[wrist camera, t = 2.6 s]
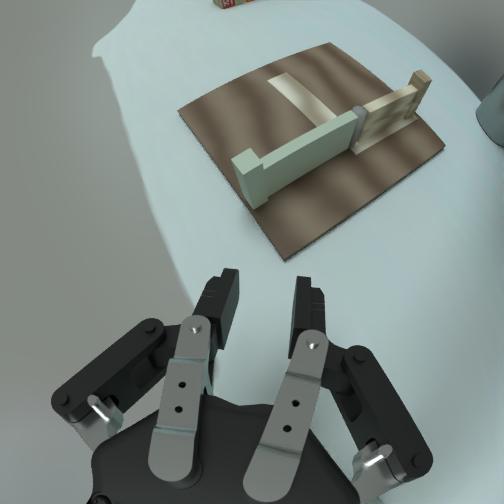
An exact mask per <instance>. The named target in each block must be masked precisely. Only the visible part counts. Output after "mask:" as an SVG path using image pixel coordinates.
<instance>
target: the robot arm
mask: <svg viewBox="0 0 504 504" xmlns="http://www.w3.org/2000/svg"><path fill="white" fill-rule="evenodd" d="M476 114H477V118H478V121H479V123H480V125H481V126H482V128H483V129H484V131H485V132H486V133H487V135H488V136H489V137H490V138H491V139H492V140H493V141H494V142H496V143H497V144H499V145H500V146H503V147H504V73H503V74H502V76H501V77H500V78H499V80H498V81H497V83H496V84H495V85H494V87H493V88H492V90H491V91H490V93H489V94H488V95H487V96H486V98H485V99H484V100H483V102H482V103H481V104H480V106H479V107H478V108H477V110H476ZM238 300H239V270H238V269H229V268H224V270H223V272H222V275H221V277H215V276H214V277H212V278H211V279H210V280H209V281H208V282H207V283H206V286H205V288H204V290H203V292H202V295H201V297H200V299H199V301H198V303H197V305H196V308H195V310H194V312H193V314H192V316H190V317H187V318H186V319H185V320H184V321H183V322H182V324H179V325H172V326H164V325H163V323H162V322H161V321H160V320H158V319H155V318H149V319H145V320H143V321H142V322H140V323H139V324H138V325H137V326H135V327H134V328H133V329H131V330H130V331H129V332H128V333H126V334H125V335H124V336H123V337H121V338H120V339H119V340H118V341H116V342H115V343H114V344H113V345H111V346H110V347H109V348H108V349H106V350H105V351H104V352H103V353H101V354H100V355H99V356H98V357H97V358H95V359H94V360H93V361H92V362H90V363H89V364H88V365H86V366H85V367H84V368H83V369H82V370H80V371H79V372H78V373H77V374H75V375H74V376H73V377H72V378H71V379H69V380H68V381H67V382H66V383H64V384H63V385H62V386H61V387H60V388H58V389H57V390H56V391H55V392H54V393H53V395H52V398H51V405H52V408H53V409H54V410H55V411H56V412H57V413H58V414H59V415H60V416H61V417H62V418H63V419H64V420H65V421H66V422H67V423H68V424H70V425H71V426H72V427H73V428H74V429H75V430H76V431H77V433H78V434H79V435H80V437H81V438H82V439H83V440H84V441H85V443H86V444H87V445H88V446H89V447H90V449H91V450H92V451H93V452H94V453H93V455H92V460H91V468H92V474H93V491H92V495H91V497H90V499H89V500H88V502H87V503H86V504H364V503H366V502H368V501H370V500H372V499H374V498H376V497H378V496H380V495H382V494H383V493H385V492H387V491H389V490H391V489H392V488H395V487H397V486H400V485H403V484H405V483H408V482H410V481H413V480H415V479H417V478H419V477H422V476H424V475H425V474H427V473H428V472H429V470H430V469H431V467H432V464H433V456H432V453H431V451H430V449H429V448H428V446H427V444H426V442H425V440H424V439H423V437H422V435H421V433H420V431H419V430H418V428H417V426H416V424H415V423H414V421H413V419H412V417H411V416H410V414H409V412H408V411H407V409H406V407H405V405H404V404H403V402H402V400H401V399H400V397H399V395H398V394H397V392H396V390H395V389H394V387H393V386H392V384H391V382H390V381H389V379H388V377H387V376H386V374H385V373H384V371H383V369H382V368H381V366H380V365H379V363H378V361H377V360H376V358H375V357H374V355H373V353H372V352H371V351H370V350H369V349H368V348H366V347H364V346H360V345H355V346H351V347H349V348H348V349H344V348H341V347H338V346H336V345H334V344H333V343H331V342H330V341H329V339H328V338H327V336H326V327H325V304H324V303H325V301H324V294H323V292H322V291H321V289H320V288H314V287H311V277H302V276H297V279H296V287H295V293H294V301H293V310H292V321H291V333H290V343H289V353H288V359H291V361H290V364H289V367H288V370H287V372H286V374H285V376H284V379H283V382H282V385H281V387H280V390H279V393H278V396H277V398H276V401H275V404H274V405H268V404H257V405H243V406H238V405H235V404H232V403H230V402H228V401H225V400H223V399H221V398H219V397H216V396H213V387H214V375H215V363H216V358H215V356H216V353H217V350H218V349H222V350H224V348H225V344H226V341H227V338H228V334H229V331H230V328H231V324H232V321H233V318H234V314H235V311H236V308H237V304H238ZM165 375H166V377H165V382H164V387H163V392H162V397H161V402H160V408H159V409H158V410H157V411H155V412H153V413H152V414H150V415H148V416H147V417H145V418H143V419H142V420H140V421H138V422H137V423H135V424H133V425H132V426H130V427H128V428H126V429H125V430H123V431H121V432H119V433H118V434H117V431H118V430H119V429H120V428H121V427H122V424H123V421H124V416H123V414H124V413H125V412H126V411H127V410H128V409H129V408H130V407H131V406H133V405H134V404H135V403H136V402H137V401H138V400H139V399H140V398H141V397H142V396H144V395H145V393H147V392H148V391H149V390H150V389H151V388H152V387H153V386H154V385H155V384H156V383H157V382H159V381H160V380H161V379H162V378H163V377H164V376H165ZM320 386H321V387H324V388H327V389H329V390H330V391H331V394H332V396H333V398H334V400H335V402H336V404H337V406H338V408H339V410H340V412H341V414H342V416H343V419H344V421H345V423H346V425H347V427H348V429H349V431H350V433H351V435H352V437H353V439H354V442H355V444H356V446H357V448H358V450H359V452H358V453H357V454H356V455H355V456H354V458H353V462H352V465H353V469H354V476H353V478H352V480H351V482H350V481H349V479H348V478H347V477H346V476H345V474H344V473H343V472H342V471H341V469H340V468H339V467H338V465H337V464H336V463H335V461H334V460H333V459H332V458H331V456H330V455H329V454H328V452H327V451H326V450H325V448H324V447H323V446H322V444H321V443H320V442H319V440H318V439H317V437H316V436H315V435H314V433H313V432H312V431H311V429H310V428H309V427H310V424H311V420H312V417H313V413H314V409H315V405H316V402H317V398H318V394H319V390H320Z"/></svg>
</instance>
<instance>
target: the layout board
mask: <svg viewBox="0 0 504 504" xmlns="http://www.w3.org/2000/svg"><path fill="white" fill-rule="evenodd" d="M392 92H394V91H393V90H392V89H390V88H389V87H388V86H387V85H386V84H385V83H384V82H382V81H381V80H380V79H379V78H378V77H376V76H375V75H374V74H373V73H371V72H370V71H369V70H368V69H366V68H365V67H364V66H363V65H361V64H360V63H359V62H357V61H356V60H355V59H353V58H352V57H351V56H349V55H348V54H346V53H345V52H344V51H342V50H341V49H339V48H338V47H336V46H335V45H333V44H332V43H330V42H329V43H326V44H323V45H320V46H316V47H313V48H310V49H307V50H304V51H301V52H299V53H296V54H293V55H290V56H288V57H285V58H282V59H280V60H277V61H275V62H272V63H270V64H267V65H265V66H263V67H260V68H258V69H256V70H254V71H251V72H249V73H247V74H245V75H243V76H240V77H238V78H236V79H234V80H232V81H230V82H228V83H226V84H224V85H222V86H220V87H218V88H216V89H214V90H212V91H211V92H209V93H207V94H205V95H203V96H201V97H200V98H198V99H196V100H194V101H192V102H191V103H189V104H187V105H186V106H184V107H182V108H181V109H179V110H177V111H178V112H179V114H180V116H181V117H182V118H183V120H184V121H185V122H186V124H187V125H188V126H189V128H190V129H191V131H192V132H193V133H194V135H195V136H196V137H197V139H198V140H199V141H200V143H201V144H202V146H203V147H204V148H205V150H206V151H207V152H208V154H209V155H210V157H211V158H212V159H213V161H214V162H215V163H216V165H217V166H218V168H219V169H220V170H221V172H222V173H223V175H224V176H225V177H226V179H227V180H228V181H229V183H230V184H231V186H232V187H233V189H234V190H235V191H236V193H237V194H238V196H239V197H240V198H241V200H242V201H243V203H244V204H245V205H246V207H247V208H248V210H249V211H250V213H251V214H252V215H253V217H254V218H255V220H256V221H257V223H258V224H259V225H260V227H261V228H262V230H263V231H264V233H265V234H266V235H267V237H268V238H269V240H270V241H271V243H272V244H273V246H274V247H275V248H276V250H277V251H278V253H279V254H280V256H281V257H282V259H283V260H284V261H285V260H286V259H288V258H289V257H291V256H292V255H294V254H295V253H297V252H298V251H300V250H301V249H303V248H304V247H306V246H307V245H308V244H310V243H311V242H313V241H314V240H316V239H317V238H319V237H320V236H322V235H323V234H325V233H326V232H328V231H329V230H330V229H332V228H333V227H335V226H336V225H338V224H339V223H341V222H342V221H343V220H345V219H346V218H348V217H349V216H351V215H352V214H353V213H355V212H356V211H358V210H359V209H361V208H362V207H363V206H365V205H366V204H368V203H369V202H371V201H372V200H373V199H375V198H376V197H378V196H379V195H380V194H382V193H383V192H385V191H386V190H387V189H389V188H390V187H392V186H393V185H394V184H396V183H397V182H398V181H400V180H401V179H403V178H404V177H405V176H407V175H408V174H410V173H411V172H412V171H414V170H415V169H416V168H418V167H419V166H420V165H422V164H423V163H424V162H426V161H427V160H429V159H430V158H431V157H433V156H434V155H435V154H437V153H438V152H439V151H441V150H442V149H443V148H444V147H445V146H446V145H445V144H444V143H443V141H442V140H441V139H440V138H439V137H438V136H437V134H436V133H435V132H434V131H433V130H432V129H431V128H430V127H429V126H428V125H427V124H426V122H425V121H424V120H423V119H422V118H421V117H420V116H419V115H418V114H417V113H416V112H415V113H414V115H413V116H412V117H410V118H408V119H406V120H405V119H404V118H403V119H401V120H399V121H397V122H395V123H393V124H392V125H390V126H388V127H386V128H384V129H383V130H381V131H379V132H377V133H375V134H374V135H372V136H370V137H368V138H367V139H365V140H363V141H361V142H360V143H357V141H356V143H355V146H354V147H353V148H348V149H346V150H345V151H343V152H341V153H340V154H338V155H336V156H334V157H333V158H331V159H329V160H328V161H326V162H324V163H323V164H321V165H319V166H318V167H316V168H314V169H313V170H311V171H309V172H308V173H306V174H304V175H303V176H301V177H299V178H298V179H296V180H294V181H293V182H291V183H290V184H288V185H286V186H285V187H283V188H282V189H280V190H278V191H277V192H275V193H274V194H272V195H270V196H269V197H268V201H267V202H265V203H264V204H262V205H261V206H259V207H258V208H256V209H254V210H253V209H252V207H251V206H250V204H249V203H248V202H247V200H246V199H245V197H244V195H243V192H242V189H241V187H240V184H239V181H238V178H237V175H236V172H235V169H234V166H233V164H232V161H231V159H232V158H234V157H235V156H237V155H239V154H240V153H242V152H244V151H245V150H247V149H249V148H251V149H252V151H253V152H254V153H255V154H256V155H257V157H258V158H259V159H261V158H262V157H264V156H266V155H268V154H269V153H271V152H273V151H274V150H276V149H278V148H280V147H281V146H283V145H285V144H287V143H289V142H290V141H292V140H294V139H296V138H298V137H300V136H301V135H303V134H305V133H307V132H309V131H311V130H313V129H314V128H316V127H318V126H320V125H322V124H324V123H326V122H328V121H330V120H332V119H334V118H336V117H338V116H340V115H342V114H344V113H346V112H348V111H350V110H351V111H352V109H353V107H355V106H361V107H362V106H363V105H365V104H368V103H370V102H372V101H374V100H376V99H378V98H381V97H383V96H385V95H387V94H390V93H392Z"/></svg>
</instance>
